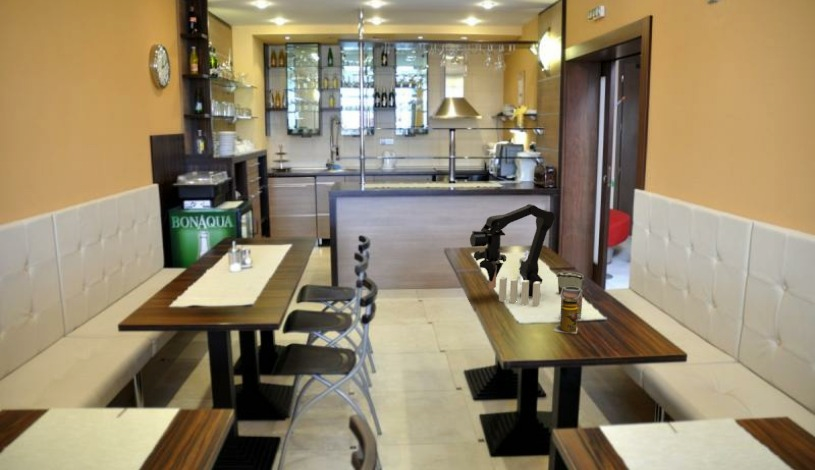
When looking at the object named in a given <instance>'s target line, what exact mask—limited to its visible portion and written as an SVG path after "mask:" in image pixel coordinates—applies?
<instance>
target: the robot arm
mask: <svg viewBox="0 0 815 470" xmlns="http://www.w3.org/2000/svg"><path fill="white" fill-rule="evenodd" d="M530 215H532V216H533V217H535V225H536V229H535V233H534V234H533V235H534V236H533V239H532V243H531V245H530V248H529V249H530V250H529V252H528V255H527V258H526V260H525V261H523V260H522V261H521V262H520V266H519V267H518V270H519V275H520V277H522V279H523V281H524V280H529V295H528V298H533V283H534V282H536V281H538V282H541V283H540V285H542V283H543V278H542V277H541V276H540V275H539V271H540V270H539V269H540V268H539V260H540V259H539V258H540V256H541V252H542V249H543V246H544V242H545V239H546V237H547V233H548V231H550V229H551V228H552V226H553V224H554V223H555V220H556V215H555V213H554V212H553V211H550V210H546V209H542V208H541V207H540V208H539V207H538V206H536V205H534V204H531V203H528V204H526V205H524V206H523V207H520V208H516V209H515V210H512V211H510V212H507V213H505V214H504V213H503V214H497V215H491V216H489V217H487V219H486V221H485V224H484V225H483V226H482V228H481V229H480V230H478V231H477V230H471V231H472V232H471V233H472V234H471V235H470V238H469V242H470V243H469V244H470V246H471V247H472V248H473V247H474V248H475V247H485V248H484V250H481V251H480V250H476V251H474V253H473V259H475V261H476V262H477V261H479V260H482V261H480V262H479V268H481V269H482V268H483V269H485V270H486V272H487V276H488V281H489V280H490V281H493V278H494V275H495V273H496V278H497V277H498V274H499V272H500V271H501V269H502V267H503V265H504V263H506V262H507V255H505V254H501V250H503V249H502V246H501V239H502V238H501V237H502V236H503V237H504V236H506V233H505V232H504V231H503V229H504V228H506V227H507V226H508V225H509V224H511V223H513V222H515V221H516V222H517V221H518V220H522V219H523V218H526V217H529V216H530ZM501 261H502V262H501ZM496 265H497V267H495V266H496Z"/></svg>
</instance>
